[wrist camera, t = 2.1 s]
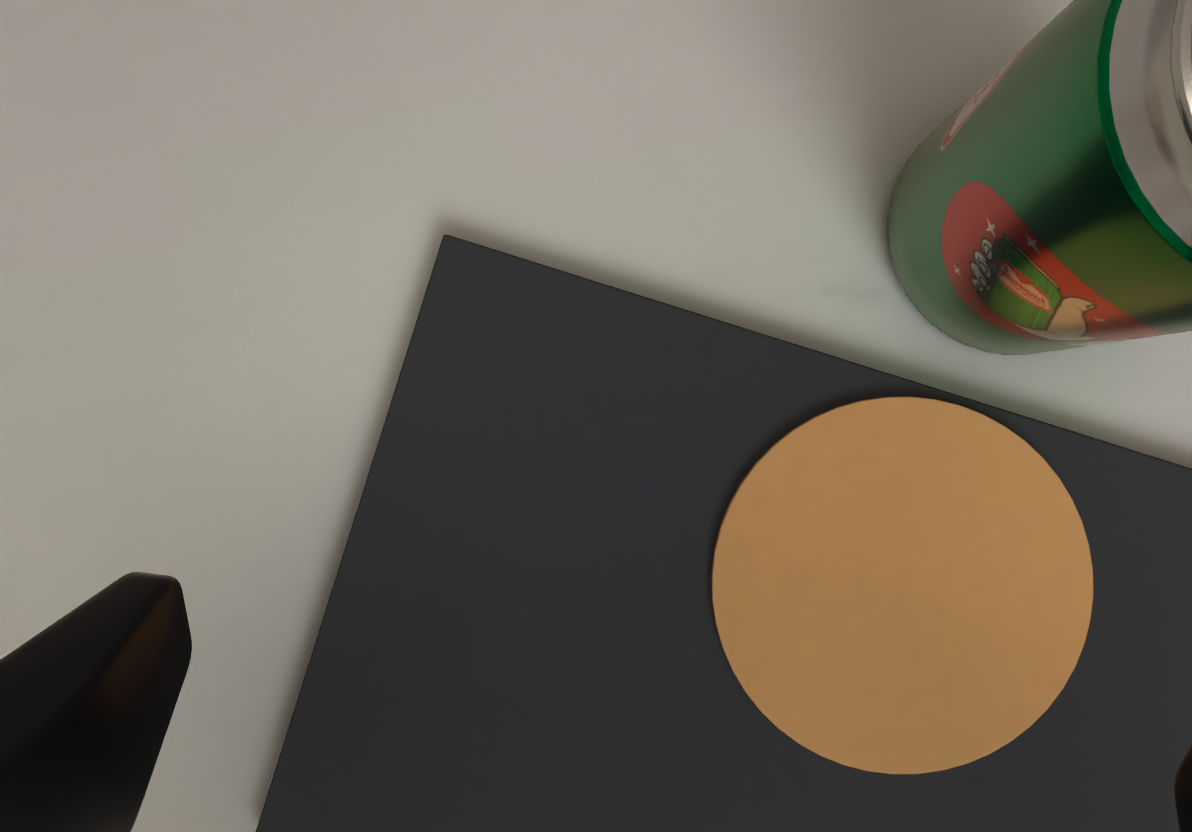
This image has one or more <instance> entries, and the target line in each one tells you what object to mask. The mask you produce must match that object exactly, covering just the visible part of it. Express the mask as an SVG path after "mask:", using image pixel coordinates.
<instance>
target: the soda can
mask: <svg viewBox="0 0 1192 832" xmlns="http://www.w3.org/2000/svg"><path fill="white" fill-rule="evenodd" d="M888 241H889V247H890V254H891V259H892V262H893V265H894V268H895V272H896V275H897V277H898V279H899V281H900V283H901V285H902V287H903V289H904V291H905V293H906V295H907V296H908V298H909V299H910V300H911V302H912V303H913V305H914V306H915V307H916V309H917V310H918V311H919V312H920V313H921V314H922V315H923V316H924V317H925V318H926V319H927V320H928V321H929V322H930V323H931V324H932V325H933V326H935V327H936V328H937V329H939V330H940V331H942V332H943V333H944V334H946V335H947V336H949V337H951V338H953V339H954V340H956V341H958V342H960V343H962V344H964V345H967V346H970V347H973V348H976V349H979V350H982V351H985V352H991V353H997V354H1003V355H1026V354H1033V353H1040V352H1047V351H1054V350H1061V349H1068V348H1075V347H1082V346H1089V345H1096V344H1103V343H1110V342H1117V341H1124V340H1131V339H1138V338H1145V337H1151V336H1158V335H1165V334H1172V333H1179V332H1186V331H1192V0H1073V1H1072V2H1071V3H1070V4H1069V5H1068V6H1067V7H1066V8H1065V9H1064V10H1063V11H1061V12H1060V13H1059V14H1058V15H1057V16H1056V17H1055V18H1054V19H1053V20H1052V21H1051V22H1050V23H1049V24H1048V25H1047V26H1046V27H1044V28H1043V29H1042V30H1041V31H1040V32H1039V33H1038V34H1037V35H1036V36H1035V37H1034V38H1033V39H1032V40H1031V41H1030V42H1028V43H1027V44H1026V45H1025V46H1024V47H1023V48H1022V49H1021V50H1020V51H1019V52H1018V53H1017V54H1016V55H1015V56H1014V57H1012V58H1011V59H1010V60H1009V61H1008V62H1007V63H1006V64H1005V65H1004V66H1003V67H1002V68H1001V69H1000V70H999V71H998V72H996V73H995V74H994V75H993V76H992V77H991V78H990V79H989V80H988V81H987V82H986V83H985V84H984V85H983V86H982V87H981V88H979V89H978V90H977V91H976V92H975V93H974V94H973V95H972V96H971V97H970V98H969V99H968V100H967V101H966V102H965V103H963V104H962V105H961V106H960V107H959V108H958V109H957V110H956V111H955V112H954V113H953V114H952V115H951V116H950V117H949V118H947V119H946V120H945V121H944V122H943V123H942V124H941V125H940V126H939V127H938V128H937V129H936V130H935V131H934V132H933V133H932V134H931V135H930V136H929V137H928V138H927V139H925V140H924V141H923V142H922V143H921V144H920V145H919V147H918V148H917V149H916V151H915V152H914V153H913V155H912V156H911V157H910V159H909V160H908V161H907V163H906V165H905V167H904V169H903V171H902V173H901V175H900V177H899V178H898V181H897V184H896V187H895V190H894V193H893V196H892V199H891V205H890V211H889V217H888Z"/></svg>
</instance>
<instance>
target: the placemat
mask: <svg viewBox="0 0 1192 832" xmlns="http://www.w3.org/2000/svg"><path fill="white" fill-rule="evenodd" d="M1191 744H1192V469H1191V468H1188V467H1184V466H1181V465H1178V464H1175V463H1172V462H1168V461H1165V460H1162V459H1159V458H1156V457H1153V456H1149V455H1146V454H1143V453H1140V452H1137V451H1133V450H1130V449H1127V448H1124V447H1121V446H1118V445H1114V444H1111V443H1108V442H1105V441H1102V440H1098V439H1095V438H1092V437H1089V436H1086V435H1083V434H1079V433H1076V432H1073V431H1070V430H1067V429H1063V428H1060V427H1057V426H1054V425H1051V424H1048V423H1044V422H1041V421H1038V420H1035V419H1032V418H1028V417H1025V416H1022V415H1019V414H1016V413H1013V412H1009V411H1006V410H1003V409H1000V408H997V407H993V406H990V405H987V404H984V403H981V402H978V401H974V400H971V399H968V398H965V397H962V396H958V395H955V394H952V393H949V392H946V391H943V390H939V389H936V388H933V387H930V386H927V385H923V384H920V383H917V382H914V381H911V380H908V379H904V378H901V377H898V376H895V375H892V374H888V373H885V372H882V371H879V370H876V369H873V368H869V367H866V366H863V365H860V364H857V363H853V362H850V361H847V360H844V359H841V358H838V357H834V356H831V355H828V354H825V353H822V352H818V351H815V350H812V349H809V348H806V347H803V346H799V345H796V344H793V343H790V342H787V341H783V340H780V339H777V338H774V337H771V336H768V335H764V334H761V333H758V332H755V331H752V330H748V329H745V328H742V327H739V326H736V325H733V324H729V323H726V322H723V321H720V320H717V319H713V318H710V317H707V316H704V315H701V314H698V313H694V312H691V311H688V310H685V309H682V308H678V307H675V306H672V305H669V304H666V303H663V302H659V301H656V300H653V299H650V298H647V297H643V296H640V295H637V294H634V293H631V292H628V291H624V290H621V289H618V288H615V287H612V286H608V285H605V284H602V283H599V282H596V281H593V280H589V279H586V278H583V277H580V276H577V275H573V274H570V273H567V272H564V271H561V270H558V269H554V268H551V267H548V266H545V265H542V264H538V263H535V262H532V261H529V260H526V259H523V258H519V257H516V256H513V255H510V254H507V253H503V252H500V251H497V250H494V249H491V248H488V247H484V246H481V245H478V244H475V243H472V242H468V241H465V240H462V239H459V238H456V237H453V236H449V235H444V236H443V239H442V242H441V245H440V248H439V251H438V255H437V258H436V261H435V264H434V267H433V270H432V274H431V277H430V280H429V283H428V286H427V290H426V293H425V296H424V299H423V302H422V305H421V309H420V312H419V315H418V318H417V321H416V324H415V328H414V331H413V334H412V337H411V340H410V344H409V347H408V350H407V353H406V356H405V359H404V363H403V366H402V369H401V372H400V375H399V378H398V382H397V385H396V388H395V391H394V394H393V398H392V401H391V404H390V407H389V410H388V413H387V417H386V420H385V423H384V426H383V429H382V432H381V436H380V439H379V442H378V445H377V448H376V452H375V455H374V458H373V461H372V464H371V467H370V471H369V474H368V477H367V480H366V483H365V486H364V490H363V493H362V496H361V499H360V502H359V506H358V509H357V512H356V515H355V518H354V521H353V525H352V528H351V531H350V534H349V537H348V541H347V544H346V547H345V550H344V553H343V556H342V560H341V563H340V566H339V569H338V572H337V575H336V579H335V582H334V585H333V588H332V591H331V595H330V598H329V601H328V604H327V607H326V610H325V614H324V617H323V620H322V623H321V626H320V629H319V633H318V636H317V639H316V642H315V645H314V649H313V652H312V655H311V658H310V661H309V664H308V668H307V671H306V674H305V677H304V680H303V683H302V687H301V690H300V693H299V696H298V699H297V703H296V706H295V709H294V712H293V715H292V718H291V722H290V725H289V728H288V731H287V734H286V737H285V741H284V744H283V747H282V750H281V753H280V757H279V760H278V763H277V766H276V769H275V772H274V776H273V779H272V782H271V785H270V788H269V791H268V795H267V798H266V801H265V804H264V807H263V811H262V814H261V817H260V820H259V823H258V826H257V830H256V832H1180V829H1179V823H1178V817H1177V811H1176V805H1175V799H1174V778H1175V774H1176V770H1177V768H1178V766H1179V764H1180V762H1181V760H1182V759H1183V757H1184V755H1185V754H1186V752H1187V750H1188V749H1189V747H1190V745H1191Z"/></svg>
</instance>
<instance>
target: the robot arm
mask: <svg viewBox="0 0 1192 832" xmlns="http://www.w3.org/2000/svg"><path fill="white" fill-rule="evenodd" d="M191 651H192V641H191V634H190V629H189V624H188V618H187V613H186V608H185V602H184V597H183V592H182V588H181V585H180V583H179V582H178V580H177V579H176V578H174V577H171V576H167V575H159V574H151V573H143V572H132V573H129V574H126V575H124V576H122V577H121V578H119V579H118V580H116V581H115V582H113V583H112V584H110V585H109V586H108V587H106V588H105V589H103V590H102V591H100V592H99V593H97V594H96V595H94V596H93V597H91V598H90V599H89V600H87V601H86V602H84V603H83V604H81V605H80V606H78V607H77V608H75V609H74V610H72V611H71V612H70V613H68V614H67V615H65V616H64V617H62V618H61V619H59V620H58V621H56V622H55V623H53V624H52V625H51V626H49V627H48V628H46V629H45V630H43V631H42V632H40V633H39V634H37V635H36V636H35V637H33V638H32V639H30V640H29V641H27V642H26V643H24V644H23V645H21V646H20V647H18V648H17V649H16V650H14V651H13V652H11V653H10V654H8V655H7V656H5V657H4V658H2V659H1V660H0V832H131V830H132V828H133V825H134V823H135V820H136V817H137V815H138V812H139V809H140V807H141V804H142V801H143V799H144V796H145V793H146V790H147V787H148V784H149V781H150V778H151V775H152V772H153V769H154V766H155V764H156V761H157V758H158V755H159V752H160V749H161V746H162V743H163V740H164V737H165V734H166V731H167V728H168V726H169V723H170V720H171V717H172V714H173V711H174V708H175V705H176V702H177V699H178V696H179V693H180V691H181V688H182V685H183V682H184V679H185V676H186V673H187V670H188V667H189V663H190V658H191ZM1174 799H1175V805H1176V811H1177V817H1178V823H1179V829H1180V832H1192V744H1191V745H1190V747H1189V749H1188V750H1187V752H1186V754H1185V755H1184V757H1183V759H1182V760H1181V762H1180V764H1179V766H1178V768H1177V770H1176V774H1175V778H1174Z"/></svg>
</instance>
